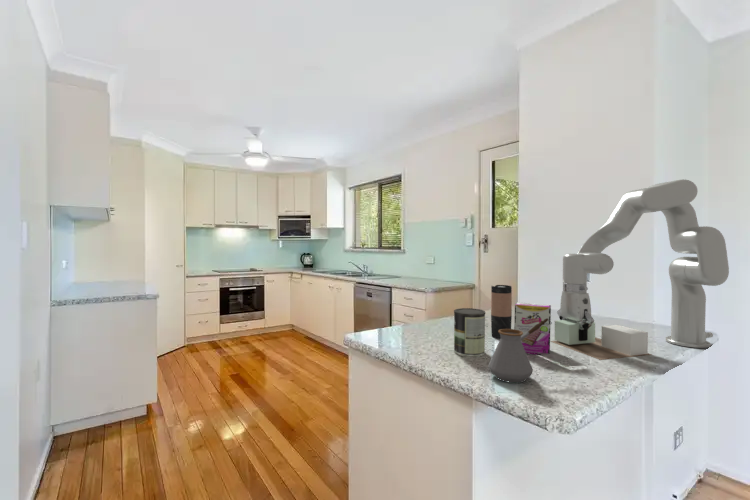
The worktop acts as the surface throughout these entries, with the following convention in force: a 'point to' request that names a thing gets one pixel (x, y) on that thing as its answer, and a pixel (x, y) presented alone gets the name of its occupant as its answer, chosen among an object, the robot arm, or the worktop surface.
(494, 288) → the travel mug
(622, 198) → the robot arm
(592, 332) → the pale green block
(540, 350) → the candy bar box
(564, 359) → the worktop surface
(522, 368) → the coffee pot
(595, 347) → the walnut board
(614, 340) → the white block
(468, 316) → the coffee can
